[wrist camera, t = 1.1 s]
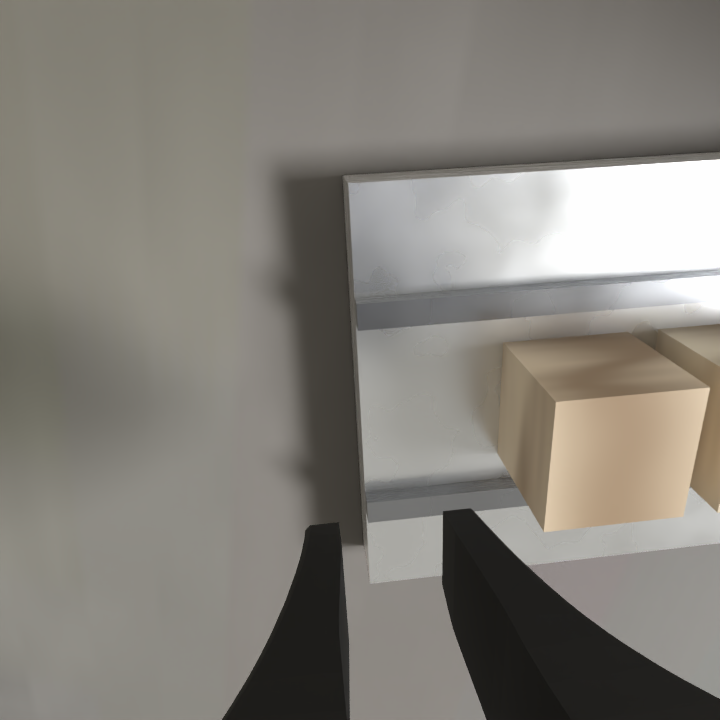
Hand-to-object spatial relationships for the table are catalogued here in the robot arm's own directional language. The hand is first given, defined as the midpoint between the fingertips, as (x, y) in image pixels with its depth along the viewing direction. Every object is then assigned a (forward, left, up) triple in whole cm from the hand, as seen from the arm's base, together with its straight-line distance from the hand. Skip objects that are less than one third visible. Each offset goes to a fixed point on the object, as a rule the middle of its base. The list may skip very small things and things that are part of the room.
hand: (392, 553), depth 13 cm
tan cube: (-6, 0, -6) cm, 9 cm away
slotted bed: (-7, 0, -8) cm, 11 cm away
